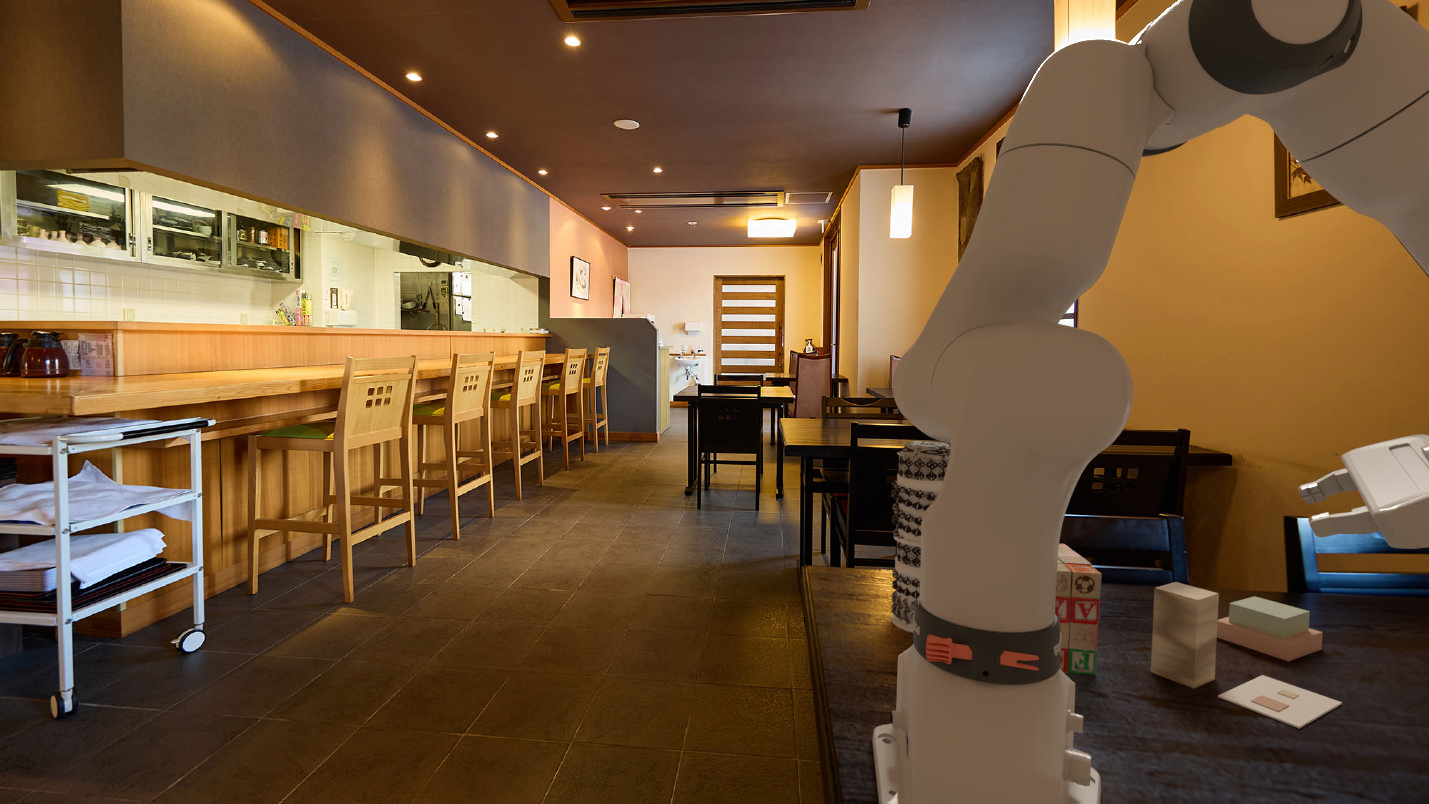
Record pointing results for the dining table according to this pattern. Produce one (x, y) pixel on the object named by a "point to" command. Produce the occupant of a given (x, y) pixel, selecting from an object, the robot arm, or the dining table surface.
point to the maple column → (1184, 634)
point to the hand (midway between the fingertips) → (1306, 511)
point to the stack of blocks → (1077, 611)
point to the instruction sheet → (1280, 701)
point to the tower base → (1270, 641)
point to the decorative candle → (913, 519)
